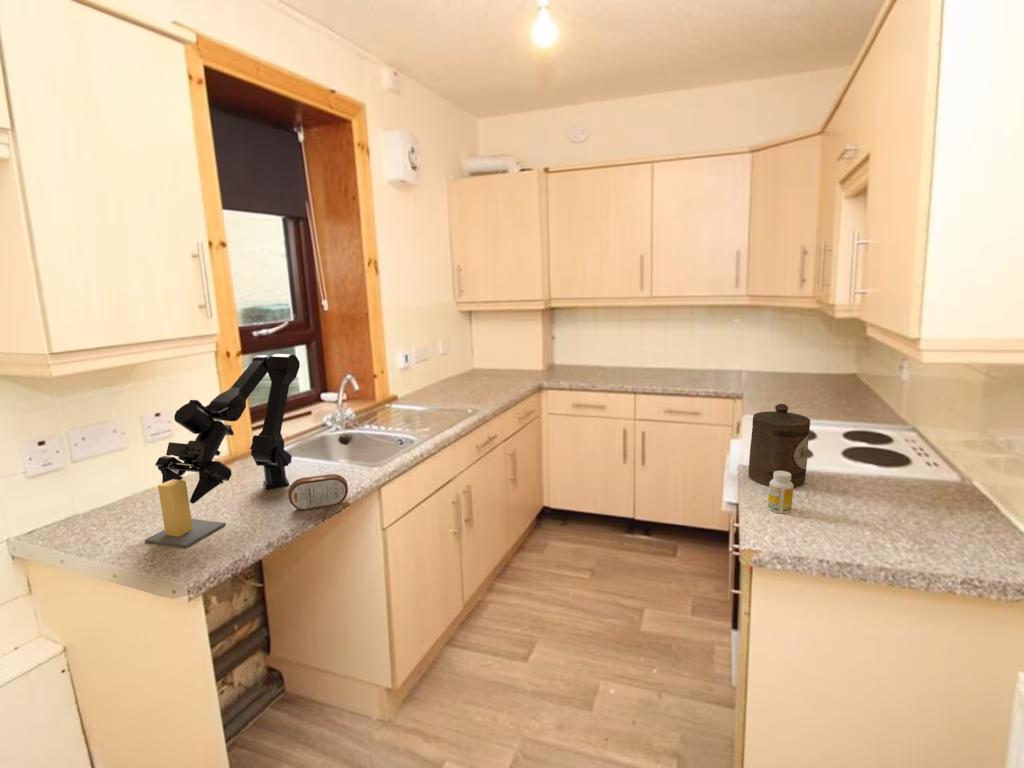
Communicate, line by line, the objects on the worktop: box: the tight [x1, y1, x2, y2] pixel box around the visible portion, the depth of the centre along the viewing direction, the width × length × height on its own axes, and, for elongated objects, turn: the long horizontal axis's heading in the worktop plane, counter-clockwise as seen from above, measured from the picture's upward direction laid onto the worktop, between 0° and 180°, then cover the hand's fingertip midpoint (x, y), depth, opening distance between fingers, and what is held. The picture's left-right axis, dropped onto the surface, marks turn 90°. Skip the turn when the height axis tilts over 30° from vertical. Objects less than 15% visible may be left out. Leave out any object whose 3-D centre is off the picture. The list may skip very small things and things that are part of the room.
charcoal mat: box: [144, 518, 226, 549], centre depth 136 cm, size 12×12×1 cm
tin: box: [287, 473, 349, 511], centre depth 149 cm, size 15×3×8 cm, turn 111°
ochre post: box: [157, 479, 193, 537], centre depth 134 cm, size 4×4×12 cm
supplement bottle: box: [767, 471, 794, 514], centre depth 140 cm, size 5×5×10 cm
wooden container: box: [748, 403, 811, 488], centre depth 159 cm, size 15×15×22 cm
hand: (176, 501), depth 134 cm, fingers open, 9 cm apart
